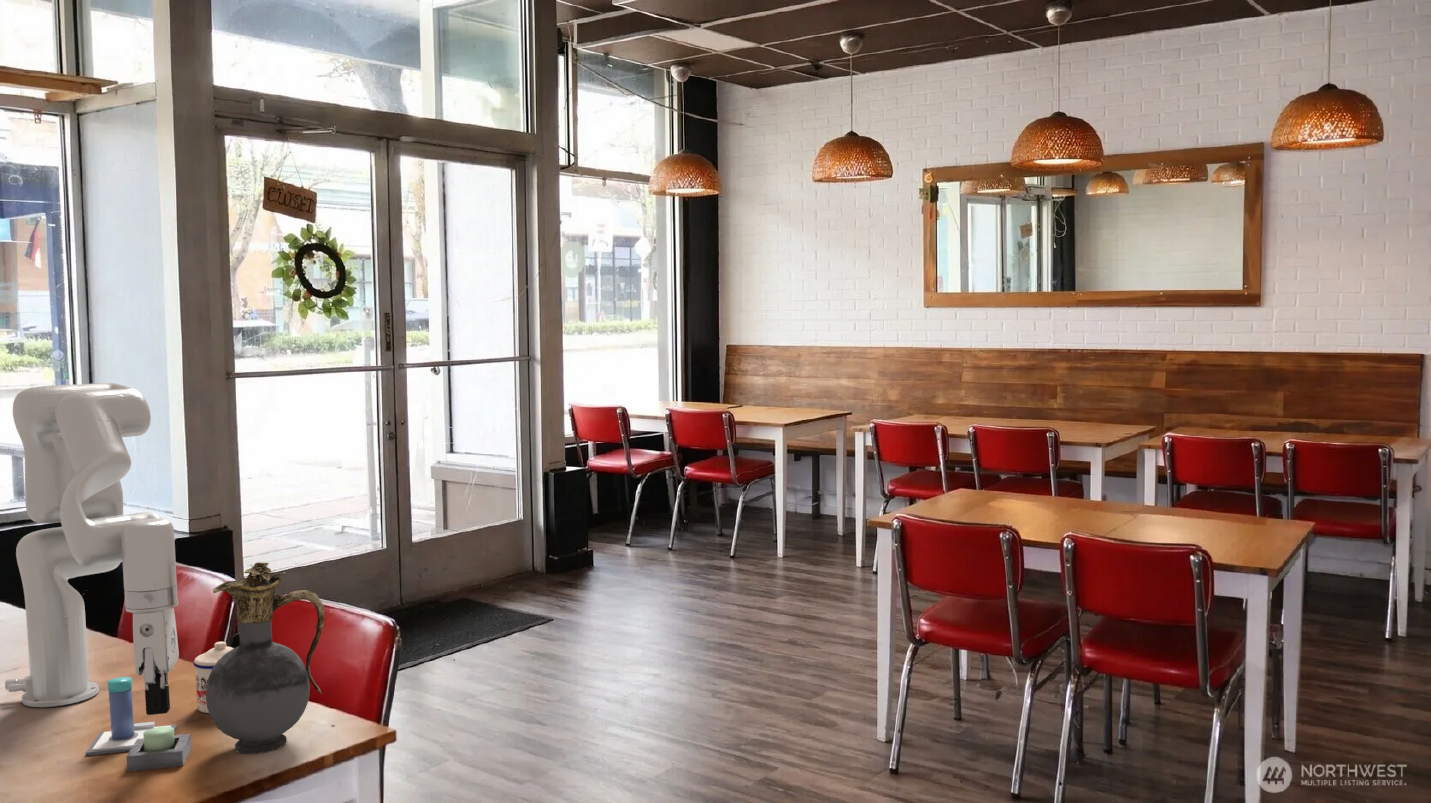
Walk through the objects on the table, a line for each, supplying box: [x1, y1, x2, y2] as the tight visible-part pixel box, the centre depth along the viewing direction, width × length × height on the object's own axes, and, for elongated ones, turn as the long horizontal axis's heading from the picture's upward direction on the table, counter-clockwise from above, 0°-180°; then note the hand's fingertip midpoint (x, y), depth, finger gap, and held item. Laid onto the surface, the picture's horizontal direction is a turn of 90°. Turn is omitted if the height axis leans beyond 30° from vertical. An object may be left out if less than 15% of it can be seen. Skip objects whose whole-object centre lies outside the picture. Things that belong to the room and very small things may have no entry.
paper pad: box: [85, 721, 178, 757], centre depth 199 cm, size 12×10×1 cm
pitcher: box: [206, 561, 325, 755], centre depth 195 cm, size 11×19×30 cm, turn 127°
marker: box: [107, 676, 135, 740], centre depth 199 cm, size 4×4×10 cm
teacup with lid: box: [193, 641, 235, 714], centre depth 215 cm, size 12×9×12 cm
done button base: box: [126, 733, 192, 773], centre depth 190 cm, size 8×8×2 cm
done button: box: [143, 726, 175, 752], centre depth 190 cm, size 4×4×3 cm
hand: (158, 712), depth 190 cm, fingers closed
